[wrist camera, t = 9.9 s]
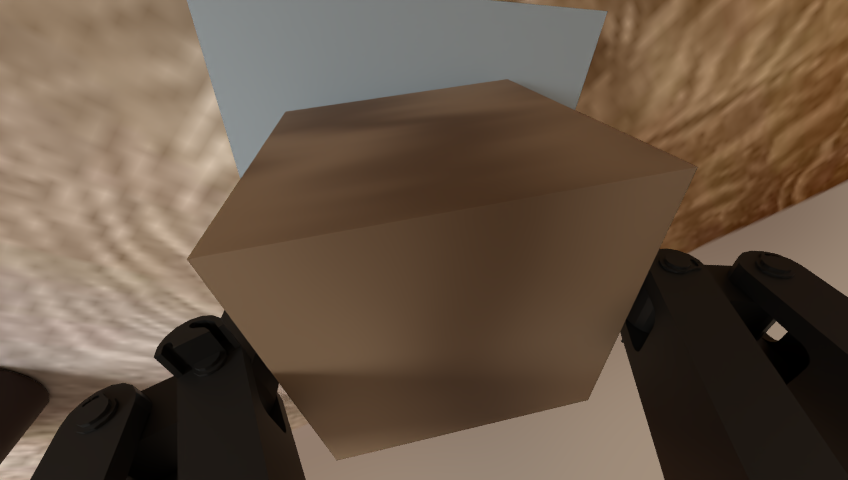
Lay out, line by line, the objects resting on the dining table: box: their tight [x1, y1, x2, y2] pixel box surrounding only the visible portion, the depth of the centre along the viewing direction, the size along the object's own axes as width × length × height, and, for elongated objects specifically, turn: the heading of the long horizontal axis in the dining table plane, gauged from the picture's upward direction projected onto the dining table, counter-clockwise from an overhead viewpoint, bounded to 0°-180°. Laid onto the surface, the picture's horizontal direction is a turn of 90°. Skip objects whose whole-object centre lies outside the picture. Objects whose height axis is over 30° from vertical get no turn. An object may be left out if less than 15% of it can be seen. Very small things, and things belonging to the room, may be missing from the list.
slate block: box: [187, 0, 607, 179], centre depth 17 cm, size 14×14×6 cm
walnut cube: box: [187, 79, 698, 460], centre depth 10 cm, size 8×8×8 cm
